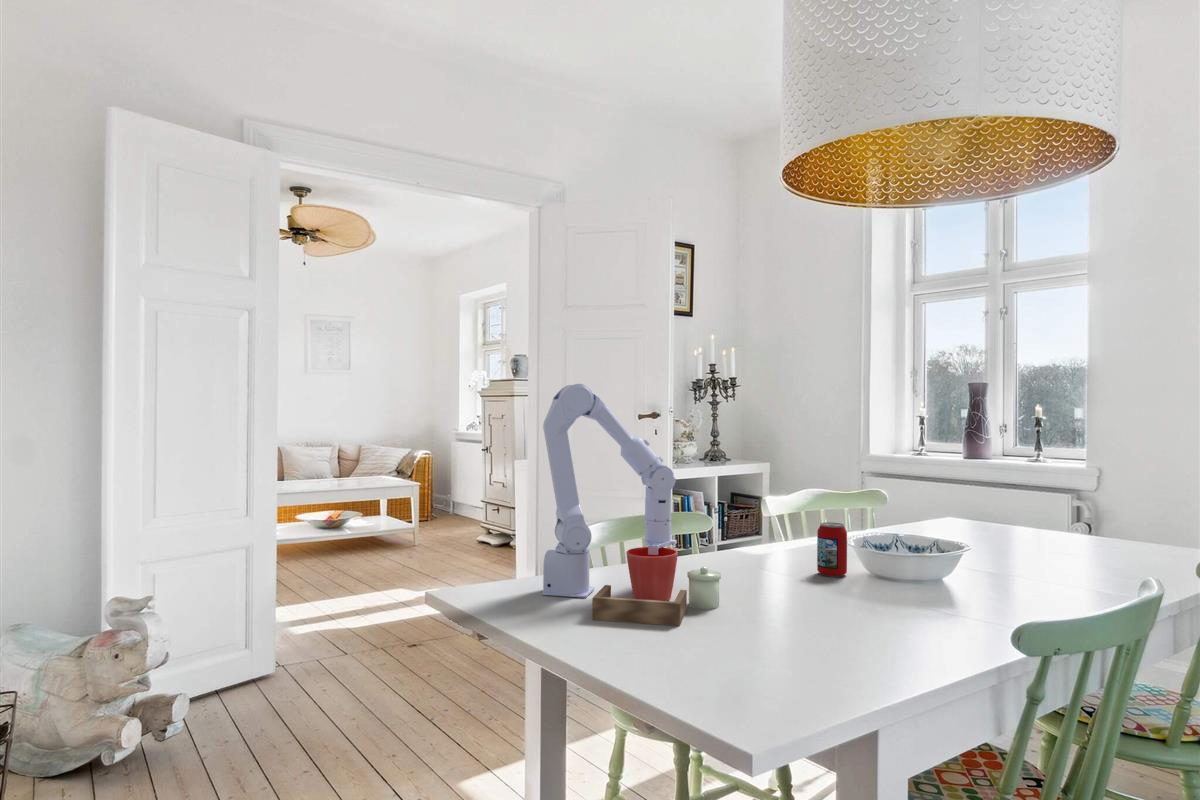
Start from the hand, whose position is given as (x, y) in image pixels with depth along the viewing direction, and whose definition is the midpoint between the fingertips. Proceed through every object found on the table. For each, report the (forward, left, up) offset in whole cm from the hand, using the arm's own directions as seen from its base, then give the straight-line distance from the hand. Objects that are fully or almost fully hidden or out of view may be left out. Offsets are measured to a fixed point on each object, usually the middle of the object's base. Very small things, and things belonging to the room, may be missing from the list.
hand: (657, 582), depth 164 cm
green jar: (+11, -11, -1) cm, 16 cm away
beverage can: (+38, +25, -2) cm, 45 cm away
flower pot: (0, -8, -2) cm, 8 cm away
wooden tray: (0, -21, -1) cm, 21 cm away
